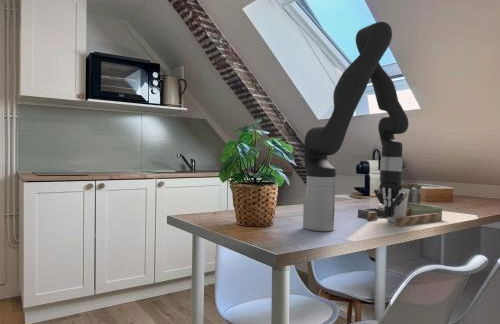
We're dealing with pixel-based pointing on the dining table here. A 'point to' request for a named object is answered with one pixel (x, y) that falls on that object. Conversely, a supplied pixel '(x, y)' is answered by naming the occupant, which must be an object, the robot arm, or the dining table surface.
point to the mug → (412, 192)
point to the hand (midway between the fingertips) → (388, 216)
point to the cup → (400, 208)
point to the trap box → (407, 214)
